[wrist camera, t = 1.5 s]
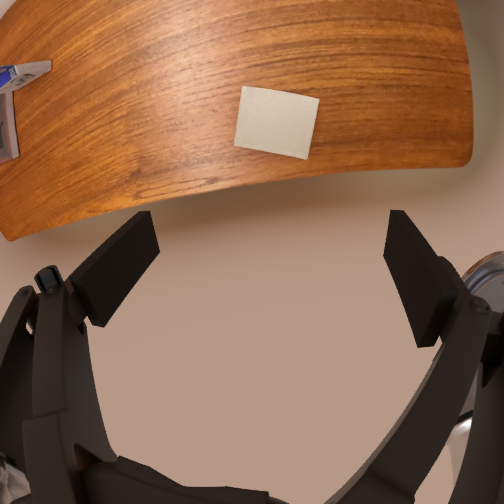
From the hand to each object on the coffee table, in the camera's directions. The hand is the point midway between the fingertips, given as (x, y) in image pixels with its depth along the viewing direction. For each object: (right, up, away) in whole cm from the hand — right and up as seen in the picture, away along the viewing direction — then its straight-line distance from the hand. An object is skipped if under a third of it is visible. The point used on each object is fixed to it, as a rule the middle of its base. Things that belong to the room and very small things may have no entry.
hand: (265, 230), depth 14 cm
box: (+3, +15, +16) cm, 22 cm away
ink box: (-40, +31, +15) cm, 52 cm away
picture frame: (-59, +26, +21) cm, 67 cm away
